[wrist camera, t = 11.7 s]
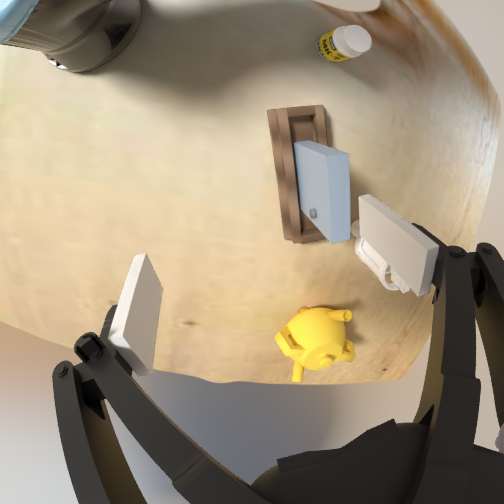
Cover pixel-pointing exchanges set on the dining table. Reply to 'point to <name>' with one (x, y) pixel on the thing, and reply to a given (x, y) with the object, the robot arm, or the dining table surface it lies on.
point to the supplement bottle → (344, 43)
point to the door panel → (324, 188)
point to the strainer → (376, 262)
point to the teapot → (316, 339)
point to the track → (282, 135)
